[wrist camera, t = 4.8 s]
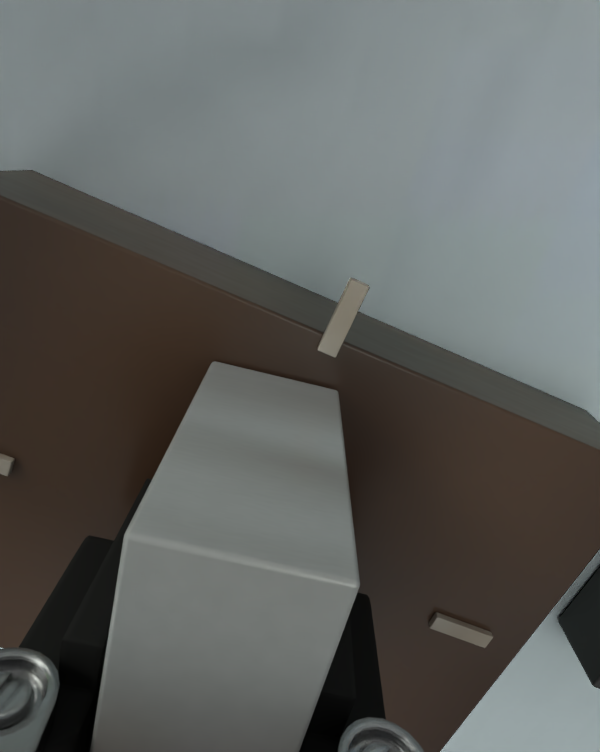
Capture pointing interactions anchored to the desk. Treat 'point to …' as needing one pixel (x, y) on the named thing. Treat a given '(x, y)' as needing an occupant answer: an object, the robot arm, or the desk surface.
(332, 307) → the base
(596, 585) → the button block
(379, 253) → the desk surface
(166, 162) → the desk surface
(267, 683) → the spout
